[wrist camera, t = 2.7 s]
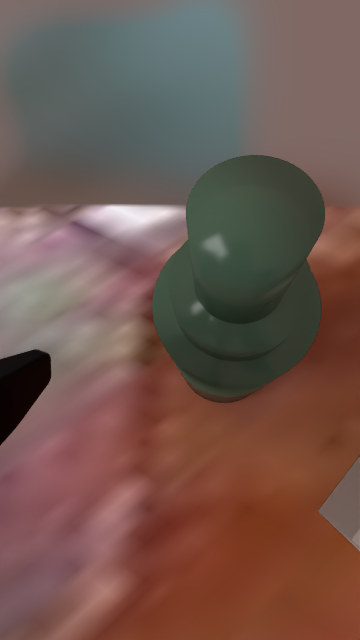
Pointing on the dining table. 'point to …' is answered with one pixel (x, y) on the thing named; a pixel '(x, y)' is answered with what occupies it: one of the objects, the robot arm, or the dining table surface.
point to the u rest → (345, 506)
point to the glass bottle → (242, 278)
